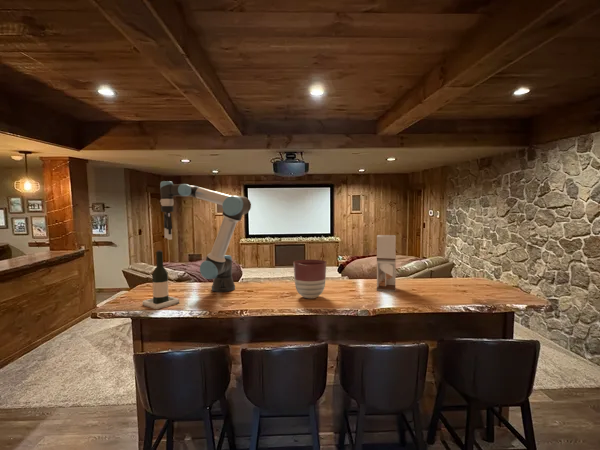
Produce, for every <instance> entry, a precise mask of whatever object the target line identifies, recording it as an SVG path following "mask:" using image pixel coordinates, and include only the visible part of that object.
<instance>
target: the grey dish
mask: <svg viewBox="0 0 600 450" xmlns="http://www.w3.org/2000/svg"><path fill="white" fill-rule="evenodd" d="M141 303H142V306H143V305H144V307H146V308H147V307H148V308H151V309H154V310H160V309H163V308H166V307H171V306H174V305H179V304H180V298H177V297H173V296H169V301H167V302H164V303H160V304H155V303H153V297H152V298H149V299H146V300H142V302H141Z"/></svg>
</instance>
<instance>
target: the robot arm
mask: <svg viewBox="0 0 600 450" xmlns="http://www.w3.org/2000/svg"><path fill="white" fill-rule="evenodd" d="M159 186H160V187H159V191H160V192H159V193H160V200H159V203H160V205H161V206H160V211H161V212H162V213H163V227H164V229H163V230H164V232H163V233H164V239H167V240H173V221H172V220H173V219H172V213H173V212H174V211H175V207H174V205H175V204H174V197H191V198H195V199H197V200H198V199H199V200H202V201H205V202H208V203H213V204H217V205H220V206H222V216H223V217H222V221H221V224H220V226H219V229H218V233H217V236H216V238H215V240H214V243H213V245H212V248H211V251H210V252H209V253H207V255H206V257H205V260H204V261H202V262H201V264H200V265H199V273H200V274H201V276H202V277H203V278H204V279H207V280H213V281H212V284H211V291H212V292H216V293H225V292H227V293H228V292H231V291H234V290H236V284H235V281H234V279H233V258H232V255H229V254H227V251H228V248H229V245H230V243H231V240H232V237H233V235H234V232H235V229H236V226H237V224H238V222H241V220H242V217H243V216H244V215H246V214H248V213H249V212H250V210H251V208H252V203H251V201H250V199H249V198H248V197H246V196H243V195H236V194H234V195H231V194H230V195H229V194H226V193H223V192H219V191H215V190H211V189H208V188H204V187H200V186H197V185H194V184H193V185H190V184H188V183H178V184H177V183H176V184H175V183H173V181H170V180H169V181H168V180H167V181H165V180H163V181H160V185H159Z"/></svg>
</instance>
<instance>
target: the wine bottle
mask: <svg viewBox="0 0 600 450" xmlns="http://www.w3.org/2000/svg"><path fill="white" fill-rule="evenodd" d="M163 253H164V252H163V250H162V249H157V250H156V252H155V255H156V257H155V258H156V267H155V269H154V271H153V273H152V276H151V277H152V298H153V303H155V304H160V303H164V302H167V301H169V273H168V271H167V270H166V267H164V255H163Z"/></svg>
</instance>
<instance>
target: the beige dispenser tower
mask: <svg viewBox="0 0 600 450" xmlns="http://www.w3.org/2000/svg"><path fill="white" fill-rule="evenodd" d="M396 240H397V236H396V235H394V234H393V235H392V234H377V235H376V292H377V291H378V292H389V293H390V292H391V293H392V292H393V293H395V292H396V280H397V278H396V275H397V274H396V273H397V271H396V269H397V268H396V265H397V264H396V263H397V262H396V261H397V257H396V256H397V255H396V252H397V251H396V250H397V248H396V247H397V241H396Z"/></svg>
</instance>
